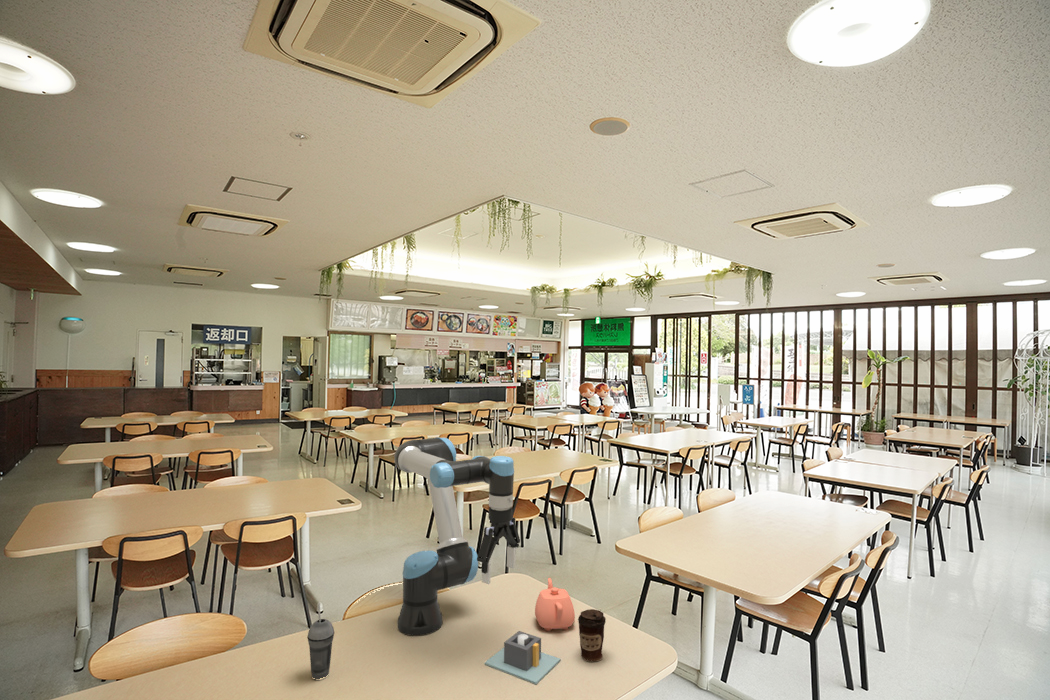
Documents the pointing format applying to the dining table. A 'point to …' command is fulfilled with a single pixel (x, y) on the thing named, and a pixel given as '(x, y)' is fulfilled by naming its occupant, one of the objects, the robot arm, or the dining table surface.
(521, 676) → the board
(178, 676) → the dining table surface
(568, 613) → the teapot
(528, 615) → the dining table surface
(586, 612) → the coffee cup
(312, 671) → the beverage cup
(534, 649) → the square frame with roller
